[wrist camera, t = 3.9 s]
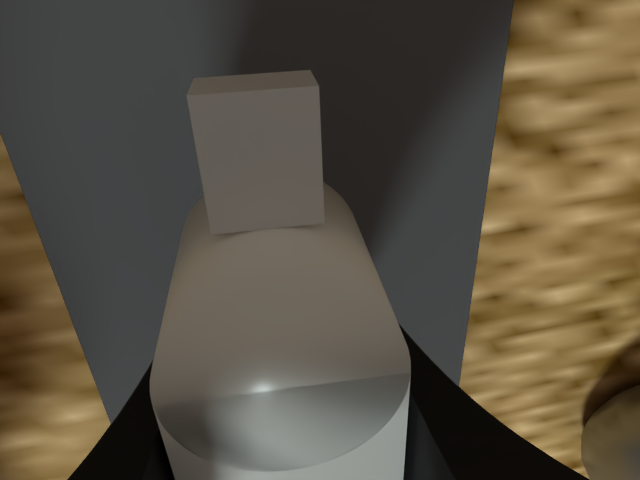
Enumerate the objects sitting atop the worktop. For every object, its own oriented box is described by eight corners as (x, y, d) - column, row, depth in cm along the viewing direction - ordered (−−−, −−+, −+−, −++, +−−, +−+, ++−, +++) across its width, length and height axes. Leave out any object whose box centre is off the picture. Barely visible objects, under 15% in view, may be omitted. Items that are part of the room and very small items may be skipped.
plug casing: (359, 432, 16) (395, 583, 12) (223, 451, 16) (216, 614, 12) (359, 49, 10) (429, 109, 6) (139, 64, 10) (70, 138, 6)
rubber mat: (450, 408, 22) (454, 417, 22) (127, 451, 21) (125, 461, 20) (514, -68, 13) (523, -68, 13) (-55, -41, 12) (-66, -41, 11)
